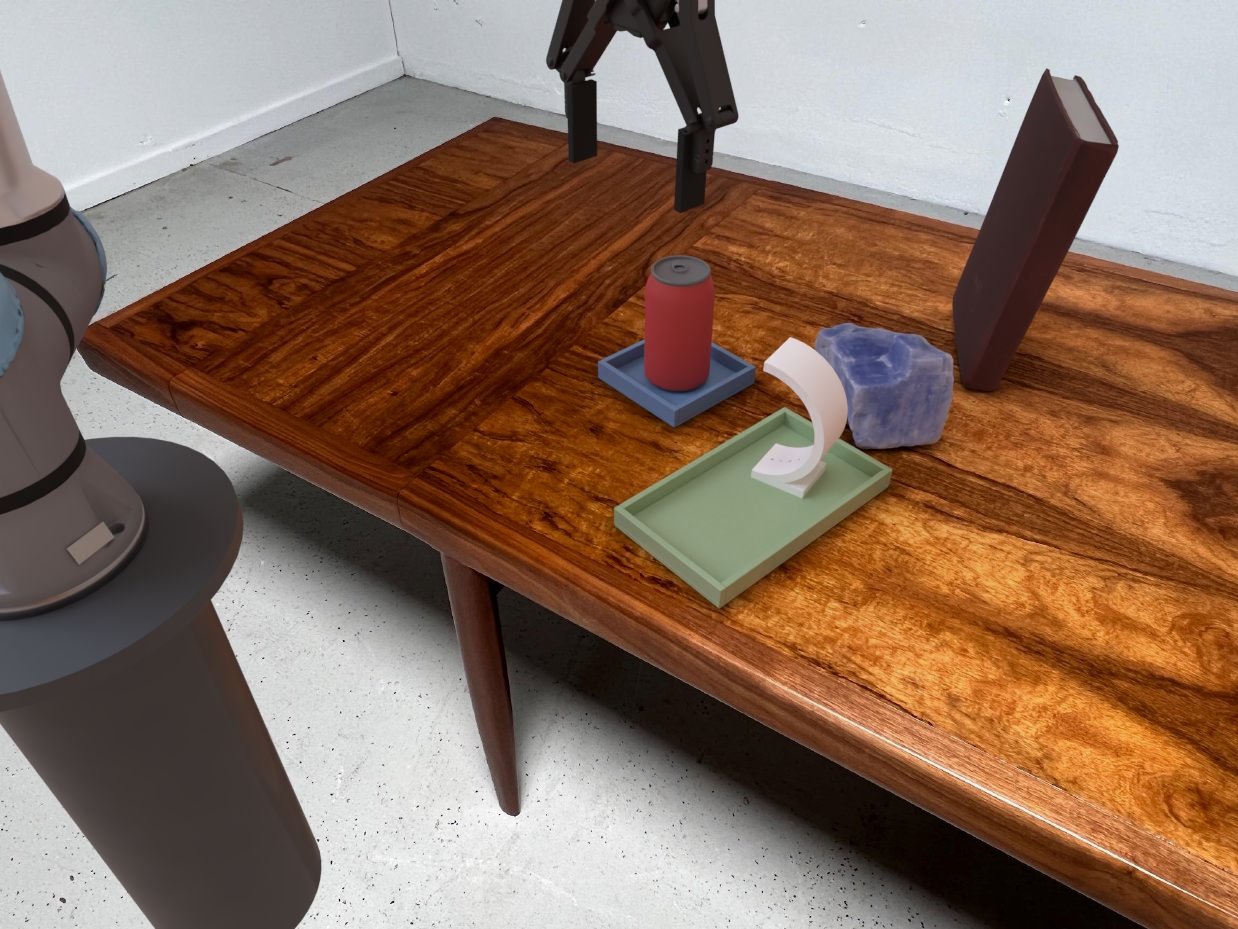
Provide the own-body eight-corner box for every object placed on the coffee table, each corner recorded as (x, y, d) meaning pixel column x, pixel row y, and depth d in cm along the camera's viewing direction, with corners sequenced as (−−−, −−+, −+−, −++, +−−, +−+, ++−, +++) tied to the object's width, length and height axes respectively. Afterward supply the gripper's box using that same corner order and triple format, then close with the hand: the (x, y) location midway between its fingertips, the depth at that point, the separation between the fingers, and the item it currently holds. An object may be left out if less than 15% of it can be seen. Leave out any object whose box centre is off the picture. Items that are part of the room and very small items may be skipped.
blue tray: (674, 428, 86) (674, 411, 85) (598, 377, 92) (597, 361, 91) (754, 383, 92) (756, 366, 90) (677, 338, 98) (678, 322, 97)
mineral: (981, 354, 79) (878, 366, 76) (956, 448, 84) (859, 461, 81) (895, 293, 90) (803, 301, 88) (878, 378, 96) (791, 388, 93)
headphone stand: (774, 450, 83) (790, 336, 75) (836, 474, 80) (859, 359, 72) (750, 477, 80) (763, 362, 72) (813, 503, 77) (834, 386, 69)
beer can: (700, 355, 95) (706, 249, 87) (716, 391, 90) (724, 282, 82) (638, 361, 94) (639, 255, 86) (650, 398, 89) (653, 288, 81)
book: (1125, 148, 72) (1070, 138, 72) (999, 396, 90) (955, 387, 90) (1090, 73, 84) (1043, 65, 84) (985, 305, 102) (946, 297, 102)
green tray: (719, 609, 69) (721, 591, 67) (613, 525, 76) (613, 507, 74) (888, 486, 79) (893, 469, 78) (782, 423, 86) (784, 406, 85)
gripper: (811, -92, 59) (772, 217, 72) (570, -133, 73) (575, 131, 87) (731, -80, 55) (706, 244, 69) (493, -126, 69) (511, 150, 83)
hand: (633, 182), depth 78 cm, fingers open, 13 cm apart
